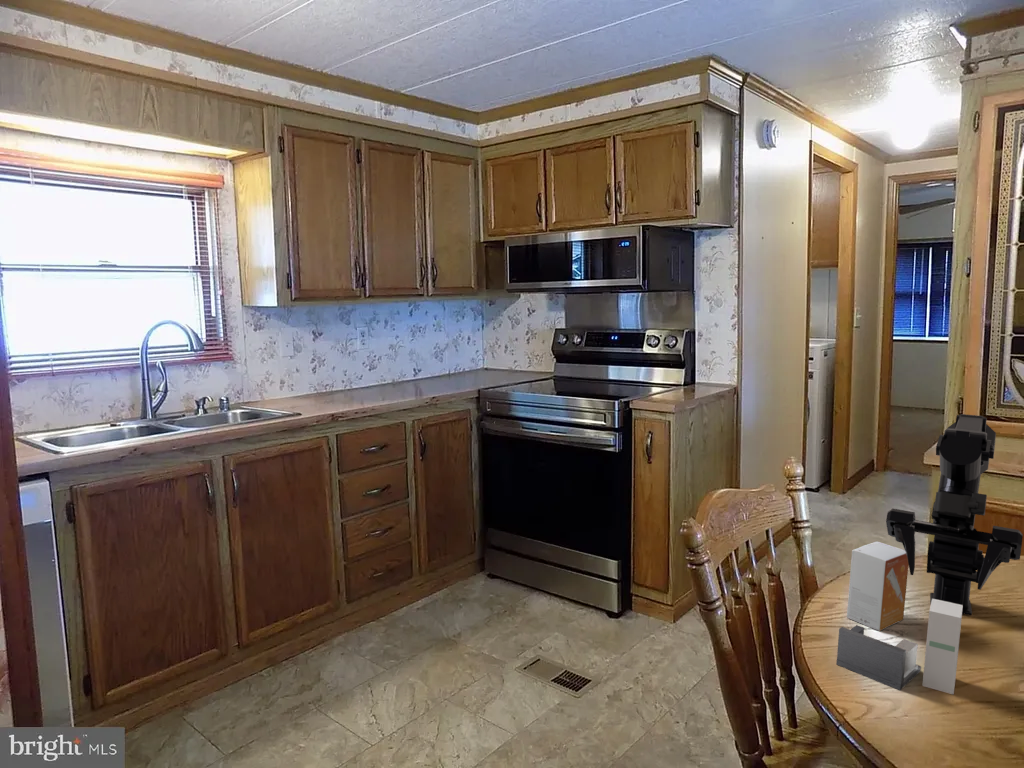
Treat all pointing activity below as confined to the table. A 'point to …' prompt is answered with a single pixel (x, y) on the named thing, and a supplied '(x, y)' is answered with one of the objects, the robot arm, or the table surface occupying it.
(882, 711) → the table surface
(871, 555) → the small box
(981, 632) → the table surface
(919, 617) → the table surface
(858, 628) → the gray open holder
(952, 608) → the block
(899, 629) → the table surface
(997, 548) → the robot arm
